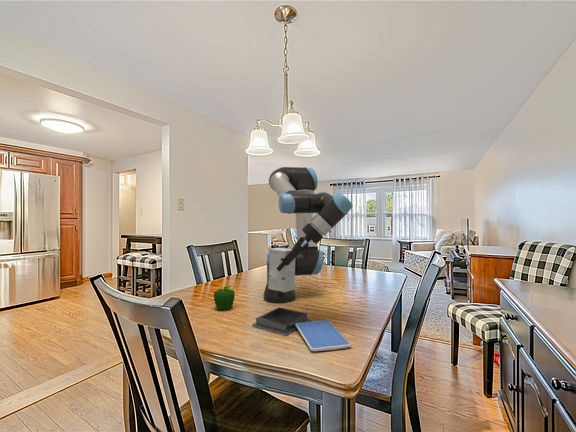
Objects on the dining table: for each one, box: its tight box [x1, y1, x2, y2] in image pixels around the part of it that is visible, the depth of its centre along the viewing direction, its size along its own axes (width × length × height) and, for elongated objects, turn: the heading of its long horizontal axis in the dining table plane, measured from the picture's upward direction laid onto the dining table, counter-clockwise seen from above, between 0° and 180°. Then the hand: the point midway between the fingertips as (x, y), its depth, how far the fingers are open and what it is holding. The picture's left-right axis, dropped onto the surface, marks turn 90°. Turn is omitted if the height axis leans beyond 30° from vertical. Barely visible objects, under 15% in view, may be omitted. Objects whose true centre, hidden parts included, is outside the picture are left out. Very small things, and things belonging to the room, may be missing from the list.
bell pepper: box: [213, 285, 236, 311], centre depth 125 cm, size 8×8×10 cm
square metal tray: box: [251, 307, 312, 337], centre depth 107 cm, size 15×16×3 cm
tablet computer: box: [295, 319, 352, 352], centre depth 94 cm, size 19×13×1 cm, turn 13°
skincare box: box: [268, 247, 296, 292], centre depth 107 cm, size 8×6×15 cm
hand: (273, 273), depth 107 cm, fingers closed on skincare box, 9 cm apart
